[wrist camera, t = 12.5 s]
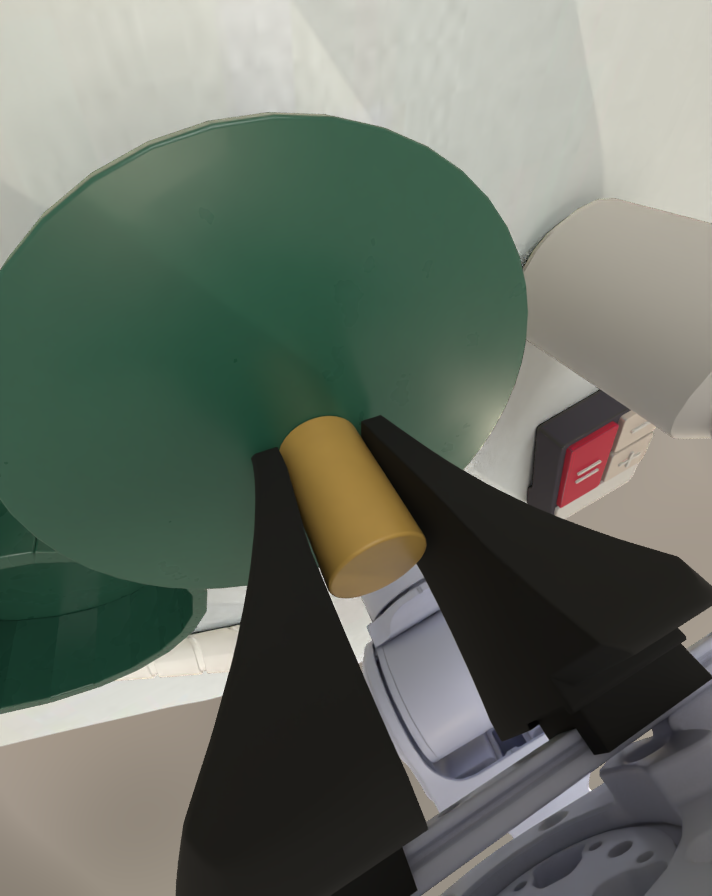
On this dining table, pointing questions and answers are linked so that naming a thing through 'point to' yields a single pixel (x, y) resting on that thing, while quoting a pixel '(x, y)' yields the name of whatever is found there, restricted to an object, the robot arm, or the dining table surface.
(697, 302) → the can
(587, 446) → the calculator
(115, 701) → the dining table surface
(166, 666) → the unicorn horn
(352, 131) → the tin lid
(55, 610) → the tin
